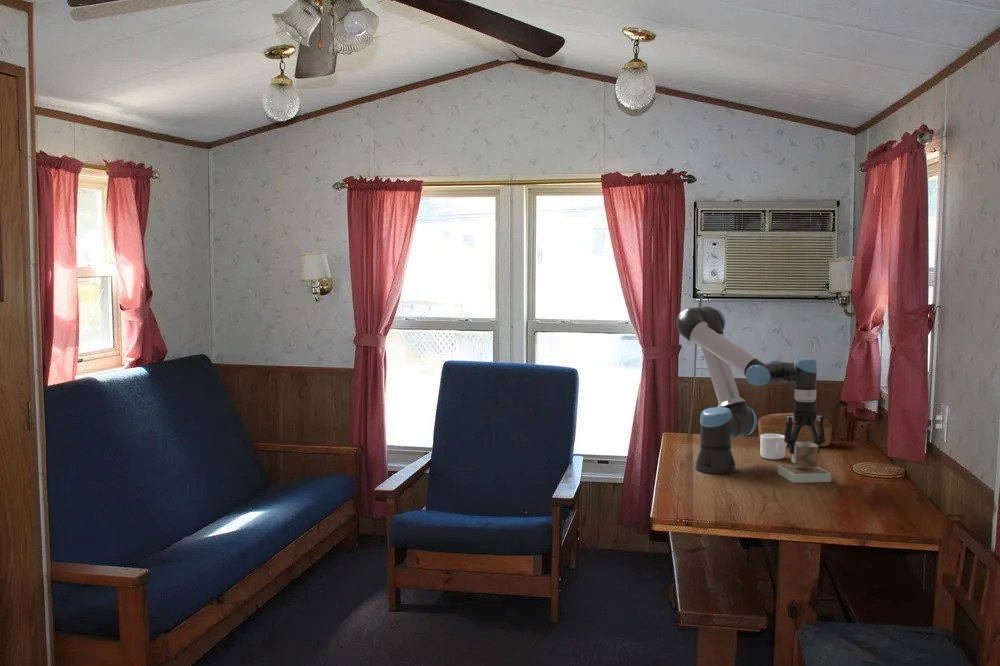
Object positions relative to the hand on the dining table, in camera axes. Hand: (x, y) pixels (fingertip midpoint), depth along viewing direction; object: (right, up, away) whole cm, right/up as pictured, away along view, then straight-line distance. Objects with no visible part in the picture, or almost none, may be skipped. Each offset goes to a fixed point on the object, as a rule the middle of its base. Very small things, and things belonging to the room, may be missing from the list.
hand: (804, 461), depth 314 cm
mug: (-1, -4, +32) cm, 33 cm away
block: (0, -1, 0) cm, 1 cm away
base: (0, -6, 0) cm, 6 cm away
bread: (+17, -2, +61) cm, 63 cm away
